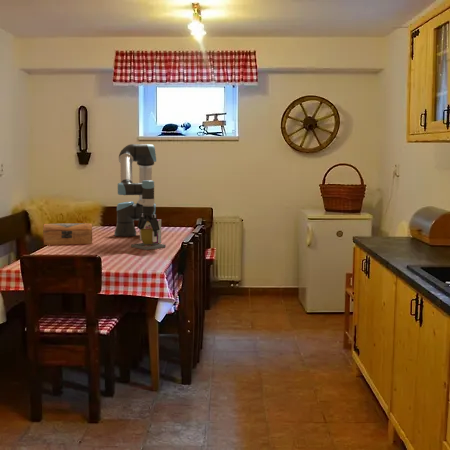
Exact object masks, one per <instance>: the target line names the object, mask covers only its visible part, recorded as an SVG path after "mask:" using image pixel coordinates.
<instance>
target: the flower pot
mask: <svg viewBox="0 0 450 450" xmlns="http://www.w3.org/2000/svg"><path fill="white" fill-rule="evenodd" d="M152 231H153V229H141V238H142V240H141V241H142V243H144V244H153V241H152Z"/></svg>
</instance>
